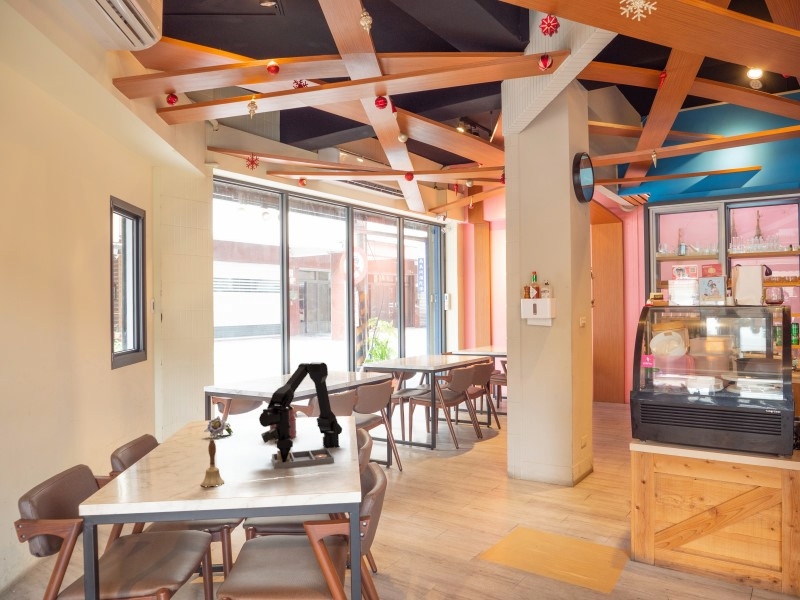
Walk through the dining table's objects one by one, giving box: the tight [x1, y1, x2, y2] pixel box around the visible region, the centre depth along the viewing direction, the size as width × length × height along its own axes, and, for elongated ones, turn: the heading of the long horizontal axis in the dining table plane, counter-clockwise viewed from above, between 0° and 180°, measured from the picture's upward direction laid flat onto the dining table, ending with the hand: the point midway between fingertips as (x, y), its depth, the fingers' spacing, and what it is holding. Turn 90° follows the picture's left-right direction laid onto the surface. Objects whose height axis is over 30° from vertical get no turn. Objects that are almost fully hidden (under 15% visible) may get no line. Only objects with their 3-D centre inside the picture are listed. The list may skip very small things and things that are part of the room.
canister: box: [269, 404, 297, 439], centre depth 288 cm, size 13×13×18 cm
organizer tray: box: [271, 448, 335, 470], centre depth 238 cm, size 23×16×2 cm
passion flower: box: [204, 415, 233, 439], centre depth 296 cm, size 11×11×12 cm
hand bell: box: [200, 439, 225, 487], centre depth 211 cm, size 8×8×16 cm
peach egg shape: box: [315, 454, 327, 459], centre depth 240 cm, size 5×5×1 cm
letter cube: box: [276, 450, 290, 463], centre depth 236 cm, size 4×4×5 cm
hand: (283, 460), depth 236 cm, fingers closed on letter cube, 4 cm apart
